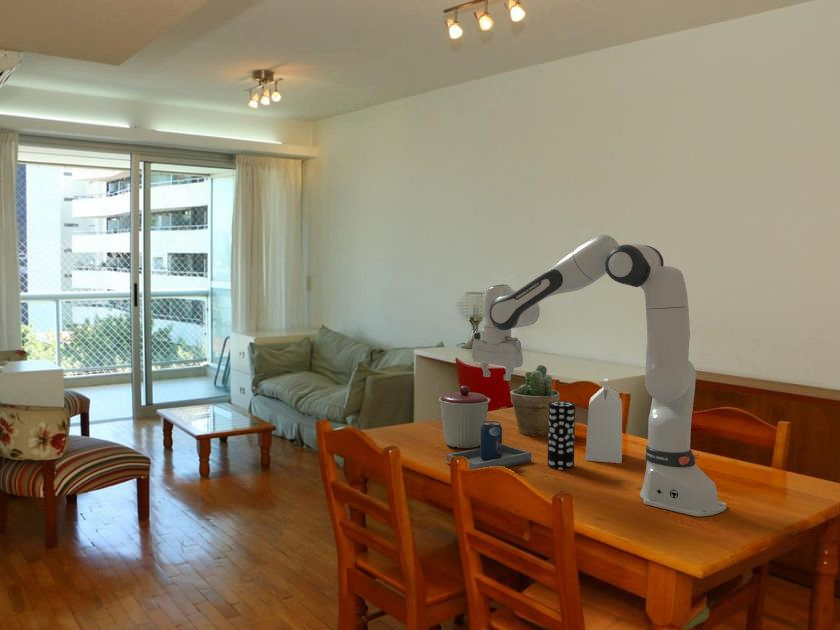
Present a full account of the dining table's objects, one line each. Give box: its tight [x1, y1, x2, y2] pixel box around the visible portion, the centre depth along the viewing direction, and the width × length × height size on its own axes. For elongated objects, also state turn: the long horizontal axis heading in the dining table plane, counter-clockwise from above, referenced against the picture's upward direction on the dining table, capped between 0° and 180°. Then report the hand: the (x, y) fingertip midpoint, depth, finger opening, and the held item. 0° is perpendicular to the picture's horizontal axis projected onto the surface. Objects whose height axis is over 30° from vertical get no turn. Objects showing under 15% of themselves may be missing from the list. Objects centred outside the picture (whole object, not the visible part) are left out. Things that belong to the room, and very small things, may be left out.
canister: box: [438, 385, 491, 449], centre depth 260 cm, size 18×18×21 cm
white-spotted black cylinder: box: [546, 400, 576, 471], centre depth 235 cm, size 8×8×20 cm
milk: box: [584, 377, 623, 464], centre depth 246 cm, size 12×12×26 cm
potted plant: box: [509, 364, 561, 437], centre depth 279 cm, size 18×19×25 cm
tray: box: [446, 443, 532, 469], centre depth 238 cm, size 14×24×3 cm, turn 127°
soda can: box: [479, 420, 503, 461], centre depth 238 cm, size 7×7×12 cm
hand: (496, 378), depth 237 cm, fingers open, 8 cm apart
